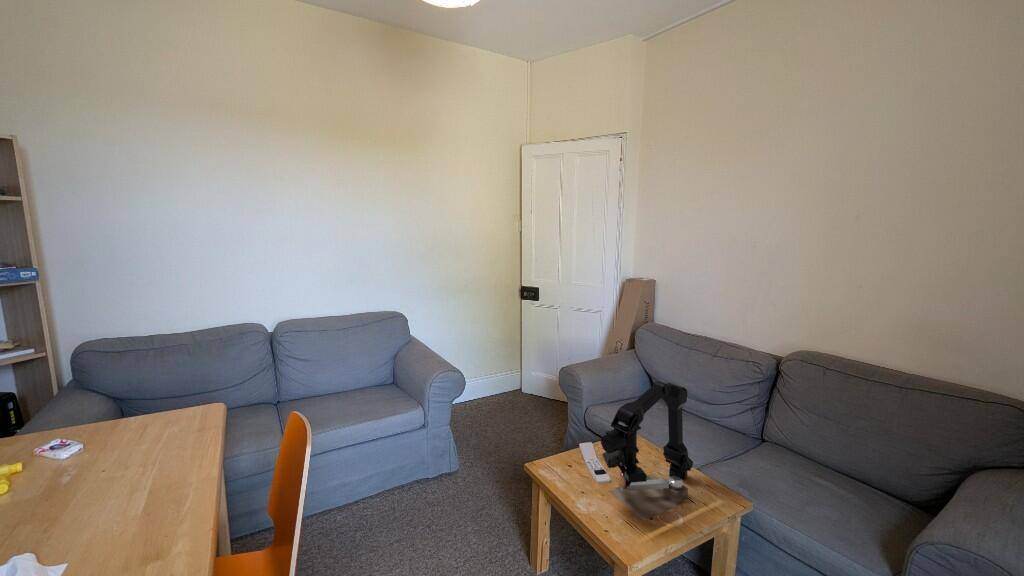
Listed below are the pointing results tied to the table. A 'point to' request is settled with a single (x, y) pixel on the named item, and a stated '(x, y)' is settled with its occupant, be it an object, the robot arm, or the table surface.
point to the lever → (652, 484)
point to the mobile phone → (594, 463)
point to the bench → (651, 499)
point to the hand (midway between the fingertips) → (627, 485)
